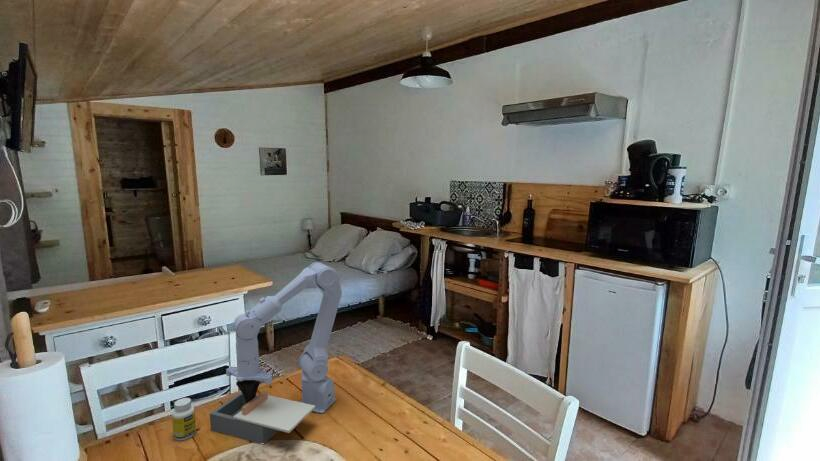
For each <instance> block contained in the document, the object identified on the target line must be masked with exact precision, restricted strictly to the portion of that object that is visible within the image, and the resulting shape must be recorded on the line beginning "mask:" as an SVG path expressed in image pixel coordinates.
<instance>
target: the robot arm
mask: <svg viewBox="0 0 820 461" xmlns="http://www.w3.org/2000/svg"><path fill="white" fill-rule="evenodd" d="M340 278H341V276H340V275H339V272H337V271H336V269H335V268H334V267H331V266H328V265H326V264H324V263H322V261H321V262H320V261H315V262H312V263H311V264H309V266H306V267H305V268H303V269H302V271H301V272H300V273H299V274H298V275H297V276H296V277H295V278H294V279H293V280H291V281H290V282H289V283H288V284H286V286H284V287H283V288H282V289H281V290H280V291H279V292H277V293H276V294H275V295H268V296H266V297H263V296H262V297H261V298H260V299H259V302H258V303H257V304H256V305H254V306H253V307H252V308H250V309H246V311H244V312H245V313H242V314H239V315H238V316H236V317H235V318H234V321H233V323H232V325H231V326H232V329H233V331H234V332H235V354H236V366H230V367H227V368H226V371H225V374H226V376H227V377H230V376H234V377H236V378H235V381H236V382H235V384H236V387H238V389H239V390H240V392H242V394H243V396H244V398H245V401H246V404H247V403H248V402H249V401H251V400H252V399H254V398H255V397H256V395H257V393H258V389H259V386H260V384H261V382H262V383H264V384H265V385H270V384H271V383H272V382H273V374H271V373H268V372H266V371H264V370H262V369H261V368H260V354H259V353H260V352H259V340H258V334H259V333H260V330H261V328H262V327H263V326H264V325H265V324H267V323H268V322H269V321H271V320H272V319H273V318H275V317H276V316H277V315H278V314H280V313H281V311H282V306H283V305H284V304H285V303H287V302H288V301H290V300H291V299H292V298H294V297H295V296H297V295H299V293H301V292H302V291H303V290H305V289H319V290H320V292H321V294H322V298H321V302H320V306H319V308H318V312H317V316H316V320H315V323H314V326H313V331H312V334H311V338H310V342H309V344H308V345H307V346H305V347H304V350H303V352H302V354H301V355H300V356H299V359H298V367H299V368H300V369H301V371H302V373H301V376H300V377H301V379H300V380H301V381H300V382H301V399H302V400H301V401H300V402H301V403H306V404H310V405H315V409H314V410H313V411H312V412H314V413H318V414H324V413H325V412H326V411H327V410H328V409H329V408H330V407H331V406H332V405H333V404H334V403H335V402H336V401H337V398H335V382H334V380H333V379H331V378H329V377H328V376H327V375H328V372H329V366H328V363H329V362H328V361H329V355H328V349H327V348H328V344H329V342H330V338H331V335H332V330H333V326H334V323H335V319H336V316H337V312H338V310H339V305H340V301H341V298H342V293H343V291H342V287H341V282H340Z"/></svg>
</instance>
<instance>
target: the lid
mask: <svg viewBox="0 0 820 461" xmlns="http://www.w3.org/2000/svg"><path fill="white" fill-rule="evenodd" d="M257 395H258V396H256V397H255V398H254V399H252V400H251V401H249V402H248V403H247V404H245V405H244V406H243V407H242V411H240V412H239V413H238V414H236V415H235V416H234V417H233V418H234V419H237V420H241V421H245V422H248V423H252V424H256V425H260V426H264V427H268V428H272V429H276V430H279V432H283V433H287V434H290V433H291V432H292V431H293V430H294V429H296V427H297V426H298V425H299V424H300V423H301V422H303V420H304V419H305V418H307V417H308V416H309V414H311V412H313V410H314V409H315V405H310V404H306V403H301V402H302V401H295V400H293V399H288V398H283V397H278V396H274V395H269V394H268V390H263V391H262V392H260V393H258V394H257Z"/></svg>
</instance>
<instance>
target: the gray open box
mask: <svg viewBox="0 0 820 461" xmlns="http://www.w3.org/2000/svg"><path fill="white" fill-rule="evenodd" d="M258 395H259V394H256V396H258ZM245 404H246V401H245V398H244V396H243V394H242V392H241V391H240V392H239V393H237V394H236V395H234V396H233V397H231V398H230V399H228V400H227V401H225V402H224V403H223V404H221V405H220V406H218V407H217V408H216V409H213V410H212V411H211V412H210V413H209V422H210V430H211V431H213V432H217V433H219V434H220V433H221V434H224V435H229V436H231V437H235V438H238V439H242V440H246V441H248V442H254V443H256V444H260V443H264V442H266V443H267V442H268V441H269V440H271V438H272V437H273V436H275V434H276V433H277V432H278V431H279V430H276V429H272V428H268V427H264V426H260V425H256V424H252V423H248V422H245V421H241V420H237V419H234V418H233V417H234V416H235V415H236V414H238V413H239V412H240V411H242V407H243V406H244V405H245ZM279 432H280V431H279ZM264 444H265V443H264Z"/></svg>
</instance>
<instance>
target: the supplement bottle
mask: <svg viewBox="0 0 820 461" xmlns="http://www.w3.org/2000/svg"><path fill="white" fill-rule="evenodd" d="M173 406H174V408H173V409H174V410H173V411H172V413H171V419H172V432H173V433H172V434H173V439H174V440H175V441H187V440H188V439H191V438H192V437H193V436H194V435H195V434H196V432H197V428H196V427H197V425H196V413H195V412H196V411H195V407H194V406H193V405H192V399H191V398H190V397H182V398H178V400H176V401H174V403H173Z"/></svg>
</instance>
